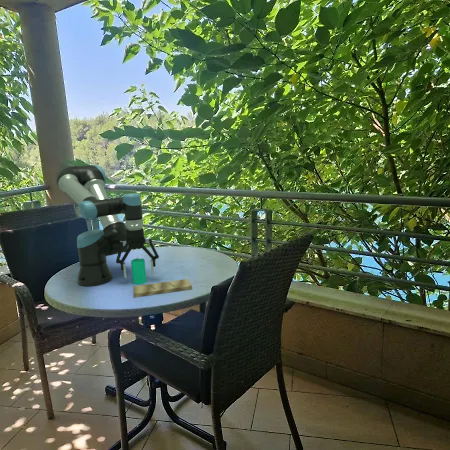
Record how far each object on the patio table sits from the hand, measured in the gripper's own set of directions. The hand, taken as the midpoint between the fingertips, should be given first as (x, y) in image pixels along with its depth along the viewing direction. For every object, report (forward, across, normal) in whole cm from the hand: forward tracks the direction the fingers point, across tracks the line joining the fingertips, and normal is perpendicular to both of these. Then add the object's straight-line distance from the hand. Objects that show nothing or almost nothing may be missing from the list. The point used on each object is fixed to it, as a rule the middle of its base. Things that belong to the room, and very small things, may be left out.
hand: (139, 275), depth 153 cm
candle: (+3, 0, 0) cm, 3 cm away
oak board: (+3, +9, -13) cm, 16 cm away
